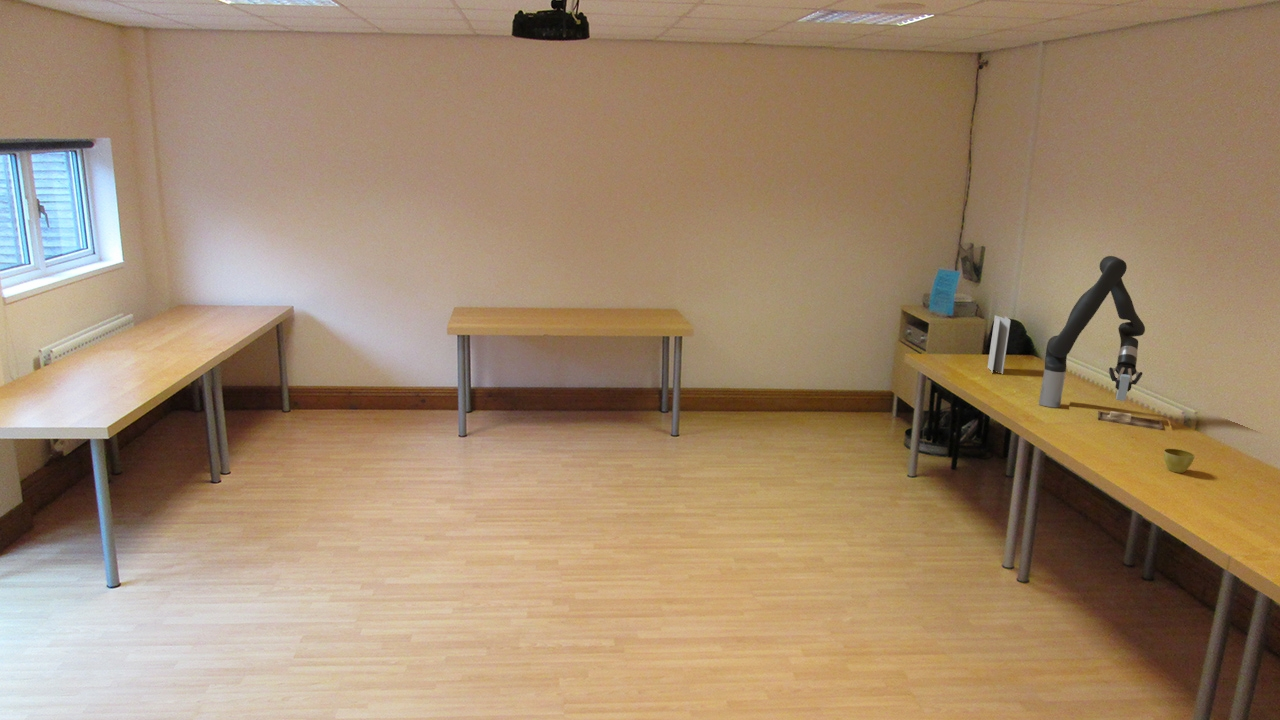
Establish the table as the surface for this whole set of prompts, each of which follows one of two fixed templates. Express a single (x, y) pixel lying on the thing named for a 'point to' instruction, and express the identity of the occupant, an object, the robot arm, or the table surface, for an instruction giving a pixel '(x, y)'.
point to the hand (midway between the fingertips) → (1123, 389)
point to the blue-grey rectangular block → (1123, 387)
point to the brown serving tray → (1133, 421)
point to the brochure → (999, 344)
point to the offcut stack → (1119, 416)
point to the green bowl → (1178, 460)
